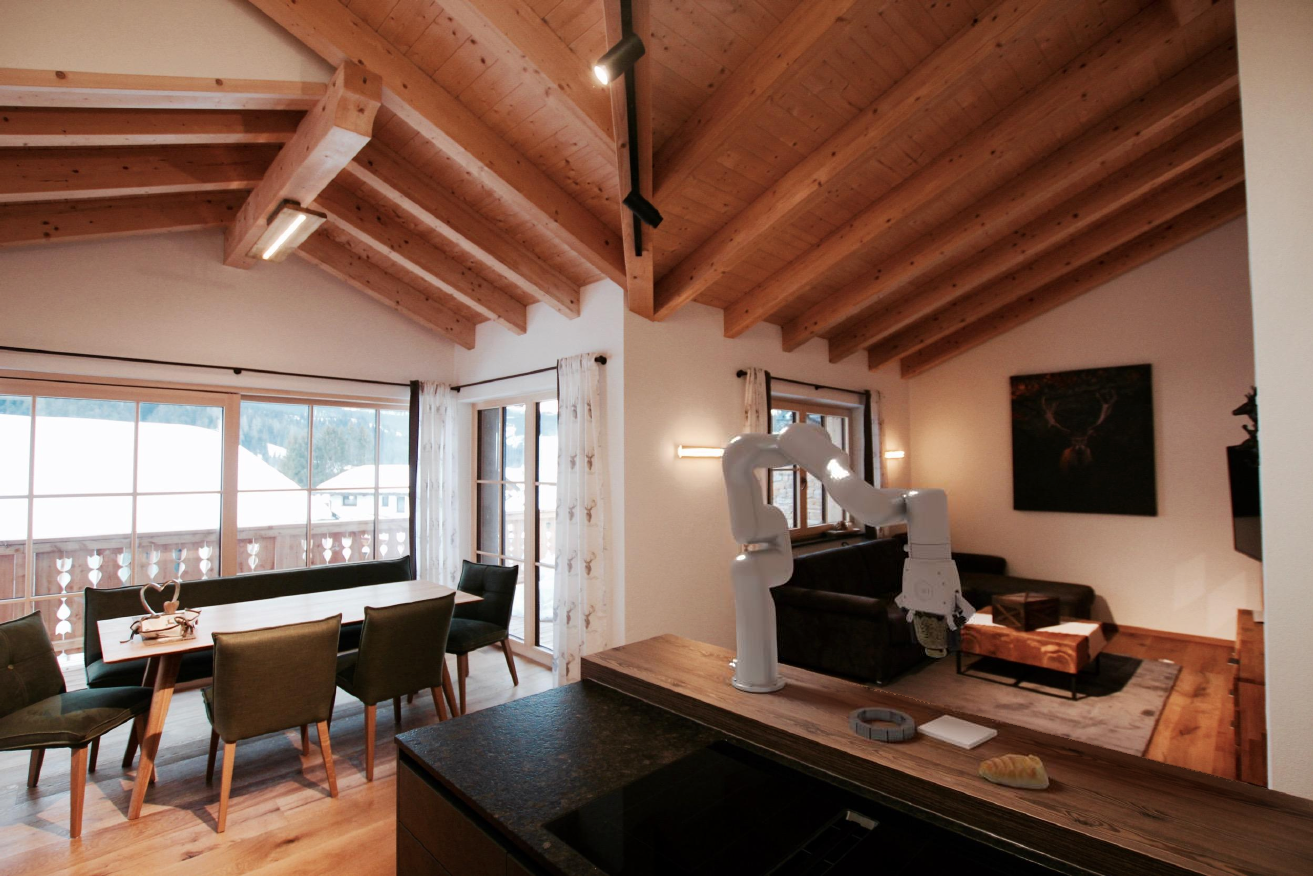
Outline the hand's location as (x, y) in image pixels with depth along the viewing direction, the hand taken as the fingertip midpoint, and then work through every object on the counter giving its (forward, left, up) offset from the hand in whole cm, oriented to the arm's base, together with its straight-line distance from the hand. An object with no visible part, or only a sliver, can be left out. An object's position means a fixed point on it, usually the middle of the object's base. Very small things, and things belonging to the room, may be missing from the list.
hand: (935, 645), depth 119 cm
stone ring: (-8, -7, -16) cm, 19 cm away
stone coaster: (+2, +2, -16) cm, 17 cm away
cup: (0, 0, -2) cm, 2 cm away
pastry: (+17, -8, -17) cm, 25 cm away
